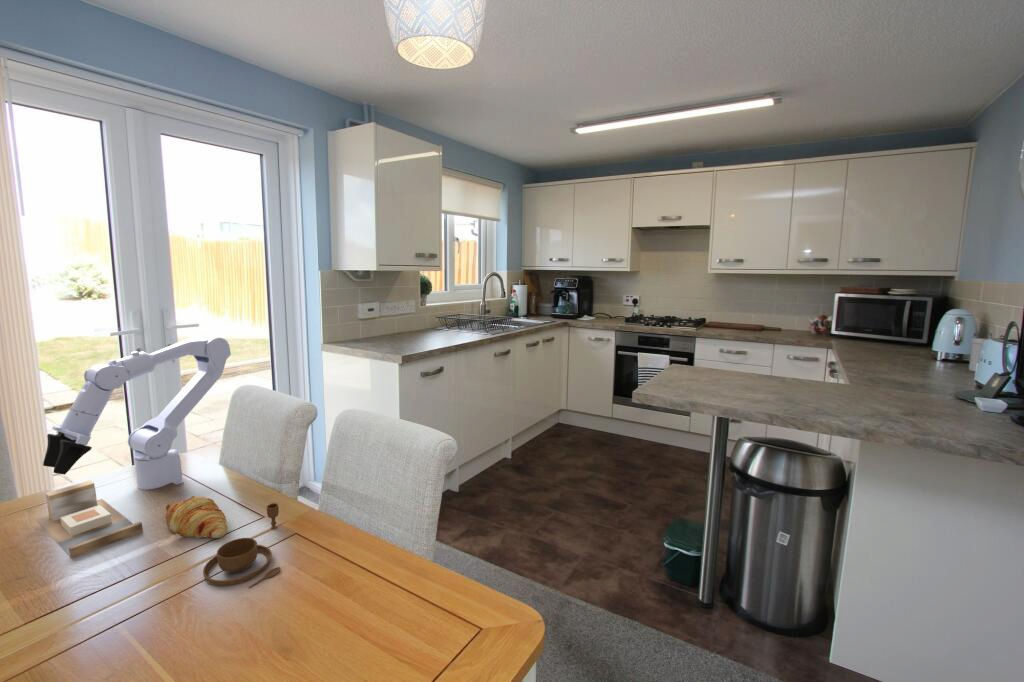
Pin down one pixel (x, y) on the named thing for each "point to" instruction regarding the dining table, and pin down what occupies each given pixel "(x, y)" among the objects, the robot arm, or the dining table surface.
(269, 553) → the place setting
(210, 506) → the croissant
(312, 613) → the dining table surface
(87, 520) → the tile
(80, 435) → the robot arm
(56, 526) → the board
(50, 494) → the light wood block
